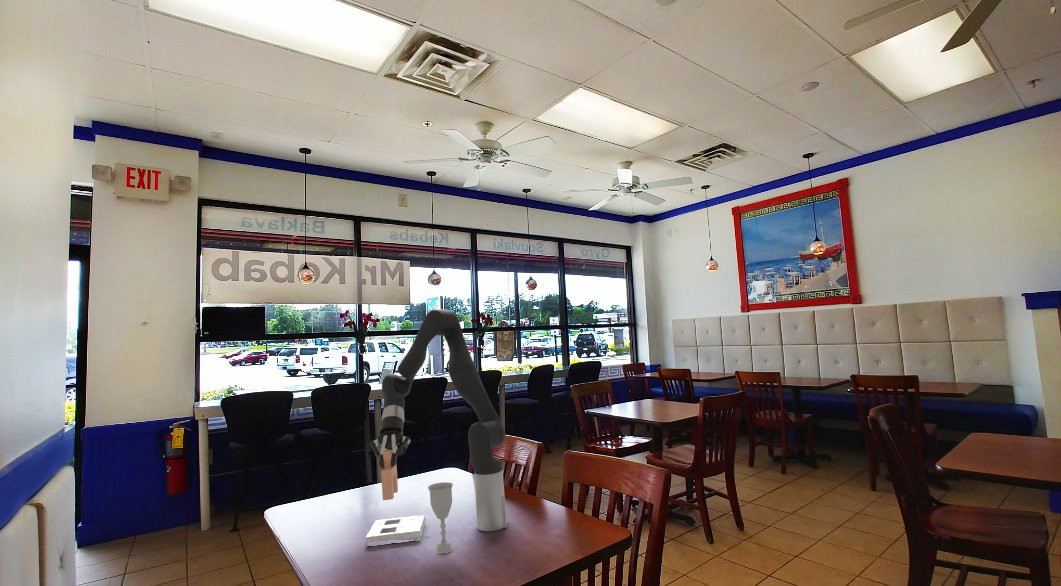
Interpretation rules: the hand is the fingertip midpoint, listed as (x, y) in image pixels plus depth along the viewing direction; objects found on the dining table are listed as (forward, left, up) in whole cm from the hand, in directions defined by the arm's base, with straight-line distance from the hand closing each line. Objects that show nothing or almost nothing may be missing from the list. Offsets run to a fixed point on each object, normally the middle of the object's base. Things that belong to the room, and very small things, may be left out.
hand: (387, 466), depth 157 cm
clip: (0, -2, -10) cm, 10 cm away
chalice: (-18, +15, -22) cm, 32 cm away
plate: (-2, -1, -22) cm, 22 cm away
